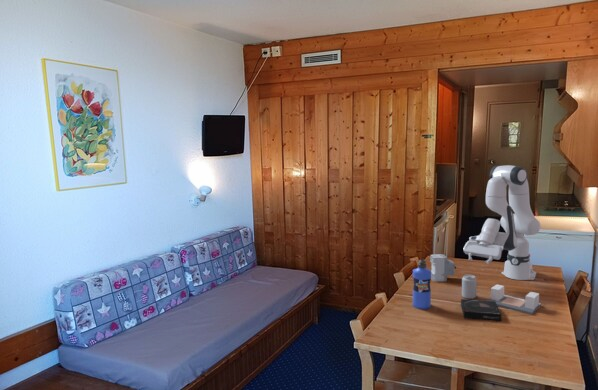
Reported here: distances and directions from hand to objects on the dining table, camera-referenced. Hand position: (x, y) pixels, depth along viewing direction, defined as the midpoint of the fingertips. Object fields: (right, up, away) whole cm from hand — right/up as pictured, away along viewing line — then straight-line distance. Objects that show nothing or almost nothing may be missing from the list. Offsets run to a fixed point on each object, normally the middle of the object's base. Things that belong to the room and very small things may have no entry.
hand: (478, 262), depth 236 cm
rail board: (+11, -19, -18) cm, 28 cm away
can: (-8, -18, -6) cm, 21 cm away
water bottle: (-37, -21, -16) cm, 45 cm away
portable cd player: (-11, -22, -27) cm, 36 cm away
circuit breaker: (-12, -15, +24) cm, 30 cm away
